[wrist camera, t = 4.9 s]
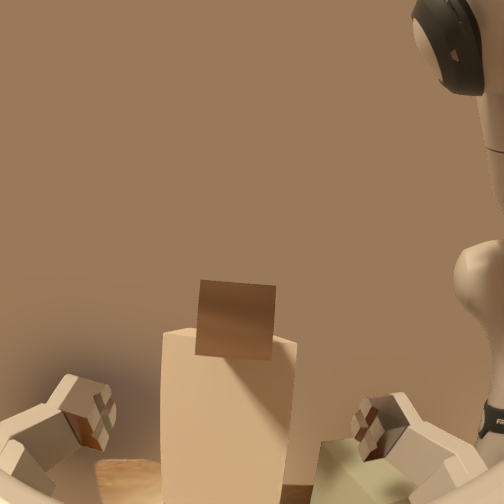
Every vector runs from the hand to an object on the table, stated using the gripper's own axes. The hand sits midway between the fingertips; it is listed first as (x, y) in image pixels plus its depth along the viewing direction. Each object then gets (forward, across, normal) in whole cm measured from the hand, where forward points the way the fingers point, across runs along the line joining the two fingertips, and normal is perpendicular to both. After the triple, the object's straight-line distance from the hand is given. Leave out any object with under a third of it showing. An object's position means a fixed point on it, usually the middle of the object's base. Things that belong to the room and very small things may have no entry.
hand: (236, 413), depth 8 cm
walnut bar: (+14, 0, +7) cm, 16 cm away
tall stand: (+4, 0, +31) cm, 31 cm away
